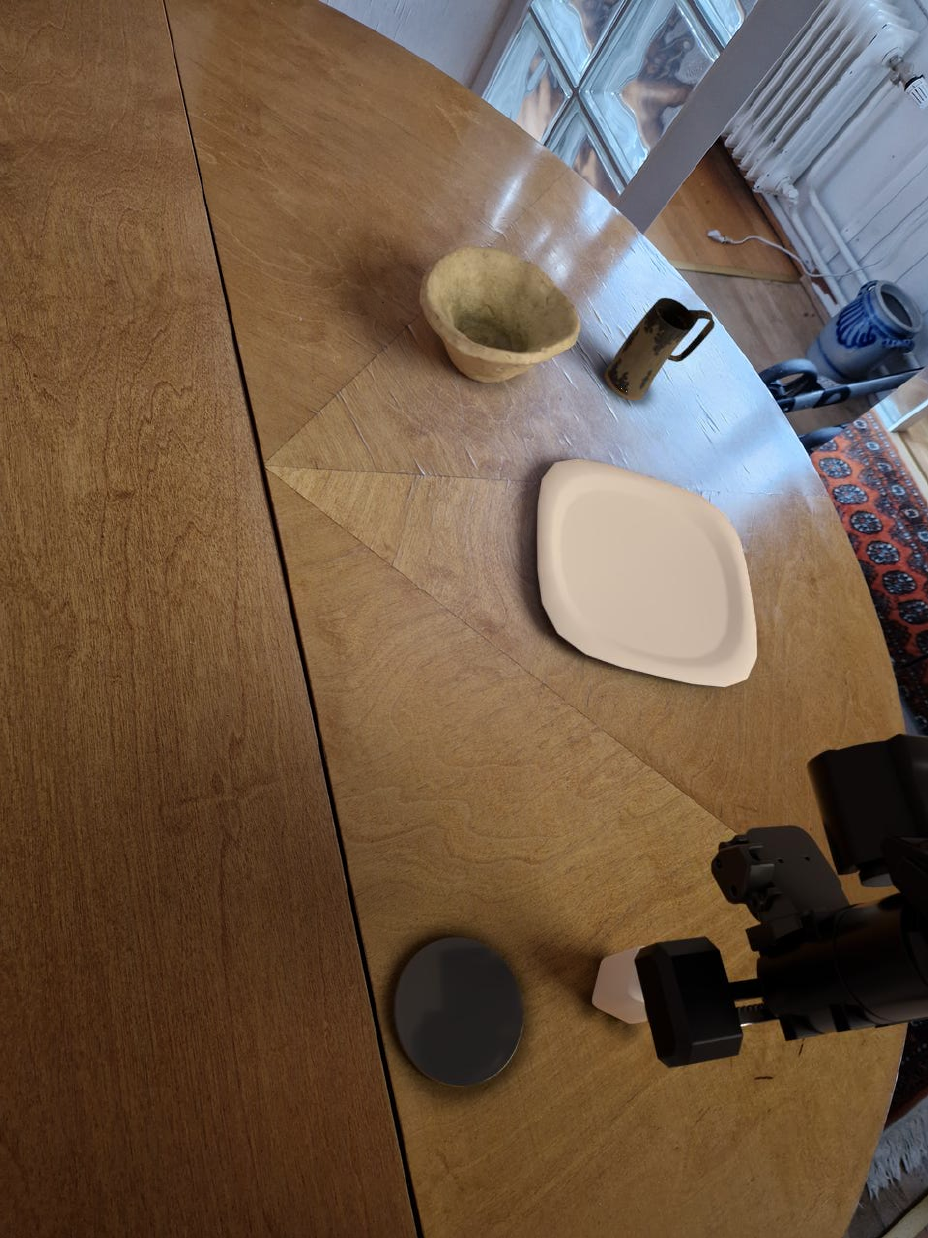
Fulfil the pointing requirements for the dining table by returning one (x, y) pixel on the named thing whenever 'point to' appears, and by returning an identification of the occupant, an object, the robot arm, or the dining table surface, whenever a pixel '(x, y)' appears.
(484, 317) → the bowl
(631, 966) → the salt shaker
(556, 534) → the plate
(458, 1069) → the coaster
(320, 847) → the dining table surface
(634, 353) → the mug
